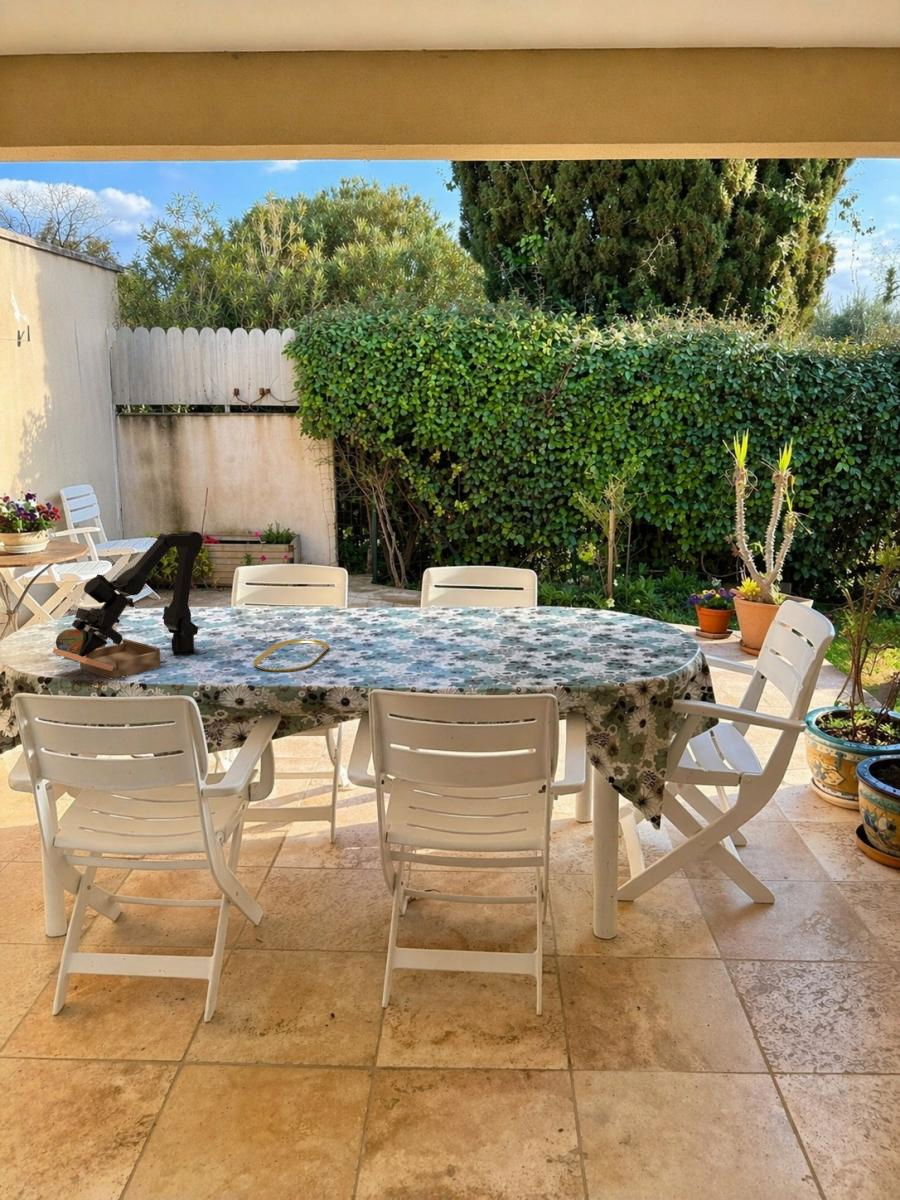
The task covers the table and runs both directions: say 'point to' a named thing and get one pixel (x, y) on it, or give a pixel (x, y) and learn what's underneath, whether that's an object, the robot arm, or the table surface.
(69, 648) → the tin
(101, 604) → the honey pot
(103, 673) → the brown shallow open box
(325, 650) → the oval ring
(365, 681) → the table surface
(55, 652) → the tailgate
